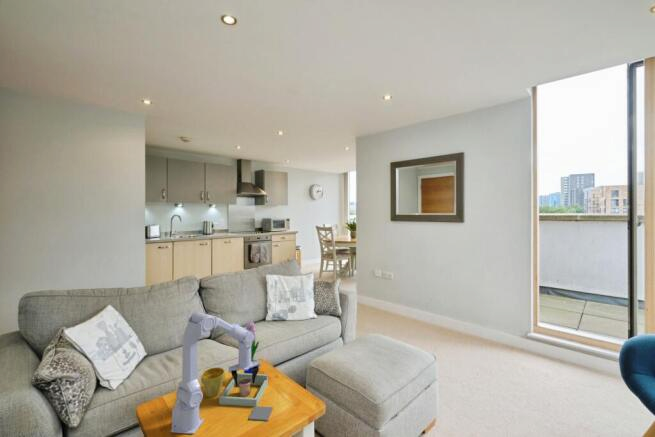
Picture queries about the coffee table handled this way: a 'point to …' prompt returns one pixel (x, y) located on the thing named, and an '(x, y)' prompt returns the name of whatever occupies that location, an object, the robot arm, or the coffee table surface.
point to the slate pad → (261, 413)
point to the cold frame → (223, 399)
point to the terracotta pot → (244, 387)
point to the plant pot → (213, 381)
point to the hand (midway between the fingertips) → (244, 384)
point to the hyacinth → (252, 328)
